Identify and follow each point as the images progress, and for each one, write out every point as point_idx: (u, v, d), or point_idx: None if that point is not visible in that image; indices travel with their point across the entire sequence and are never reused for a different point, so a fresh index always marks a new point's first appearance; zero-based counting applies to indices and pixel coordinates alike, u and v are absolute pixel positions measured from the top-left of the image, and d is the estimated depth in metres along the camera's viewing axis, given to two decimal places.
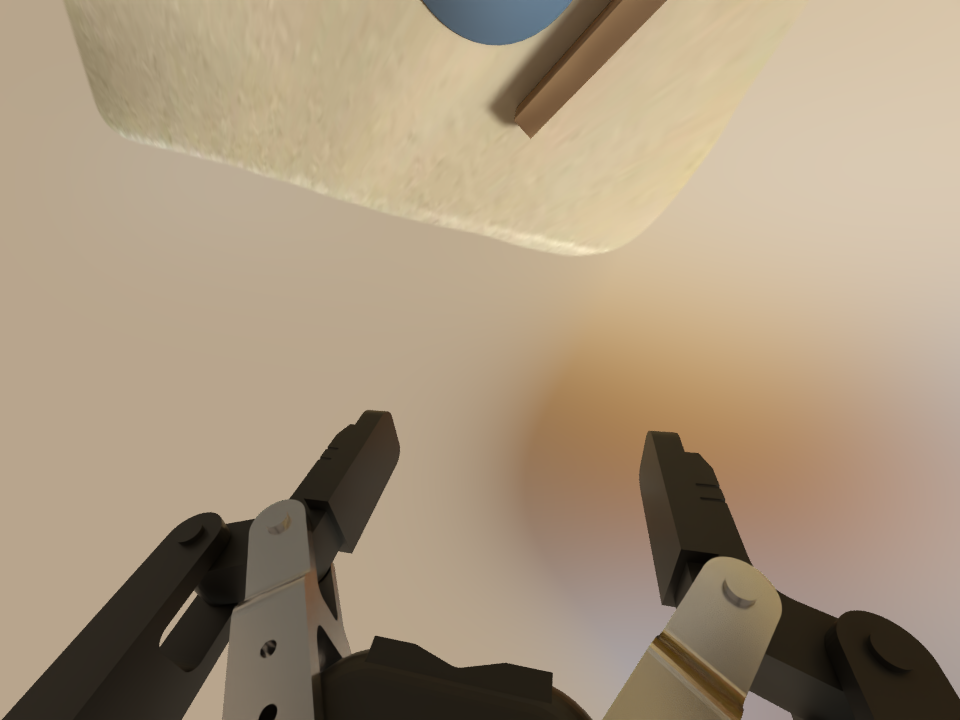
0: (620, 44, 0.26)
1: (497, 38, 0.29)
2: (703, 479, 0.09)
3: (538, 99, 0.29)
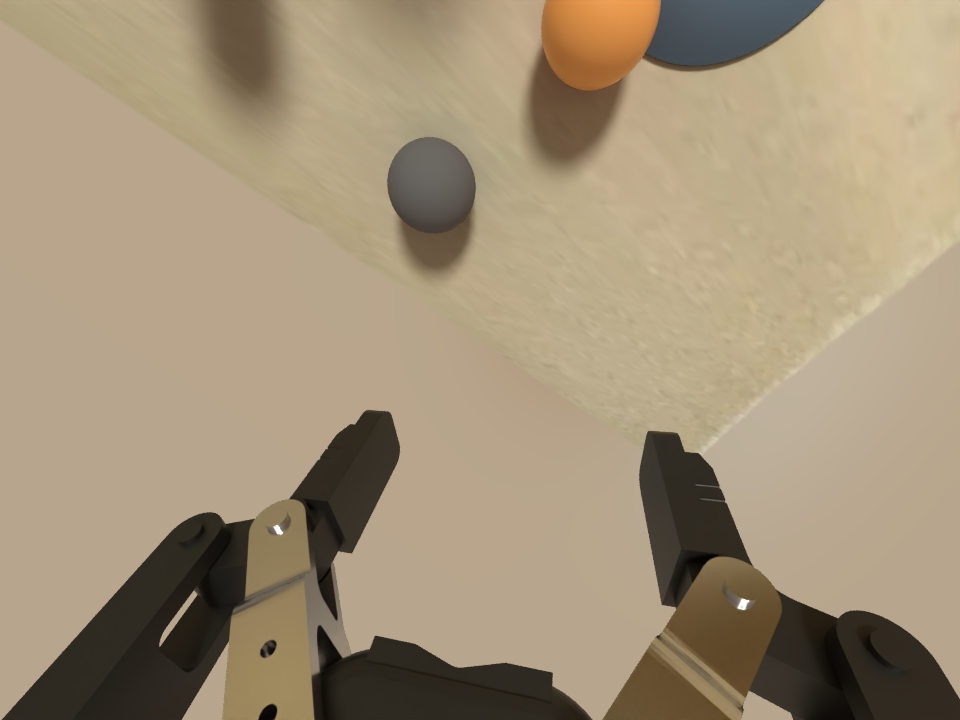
0: None
1: None
2: (703, 479, 0.09)
3: None
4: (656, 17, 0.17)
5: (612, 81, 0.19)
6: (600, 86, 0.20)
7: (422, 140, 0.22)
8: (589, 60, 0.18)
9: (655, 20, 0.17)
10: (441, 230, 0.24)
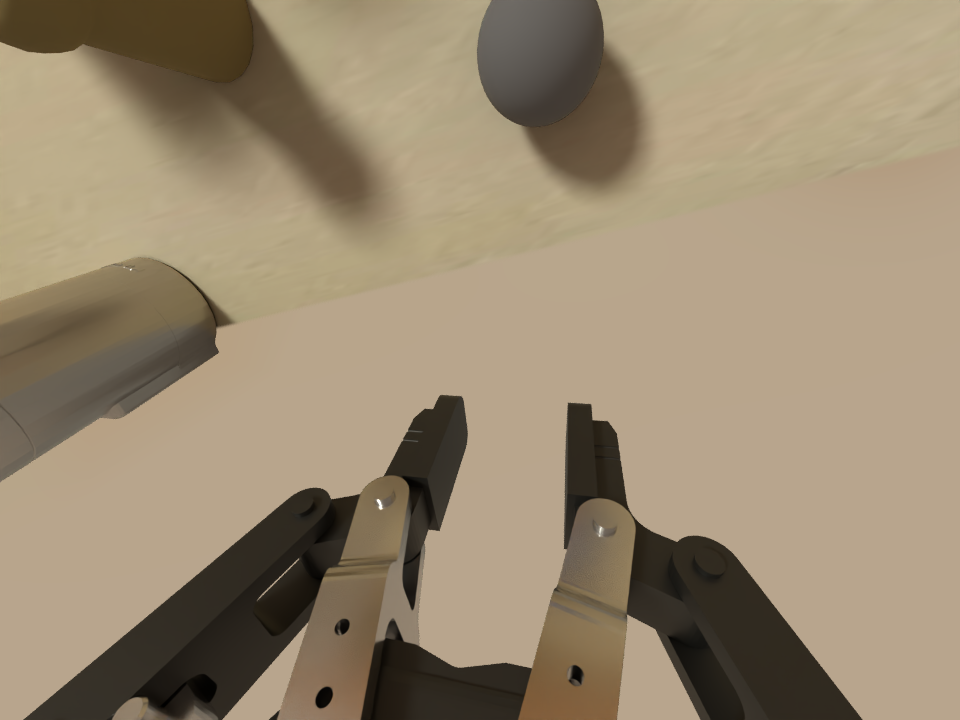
0: None
1: None
2: (606, 442, 0.11)
3: None
4: None
5: None
6: None
7: (486, 11, 0.16)
8: None
9: None
10: (588, 70, 0.16)
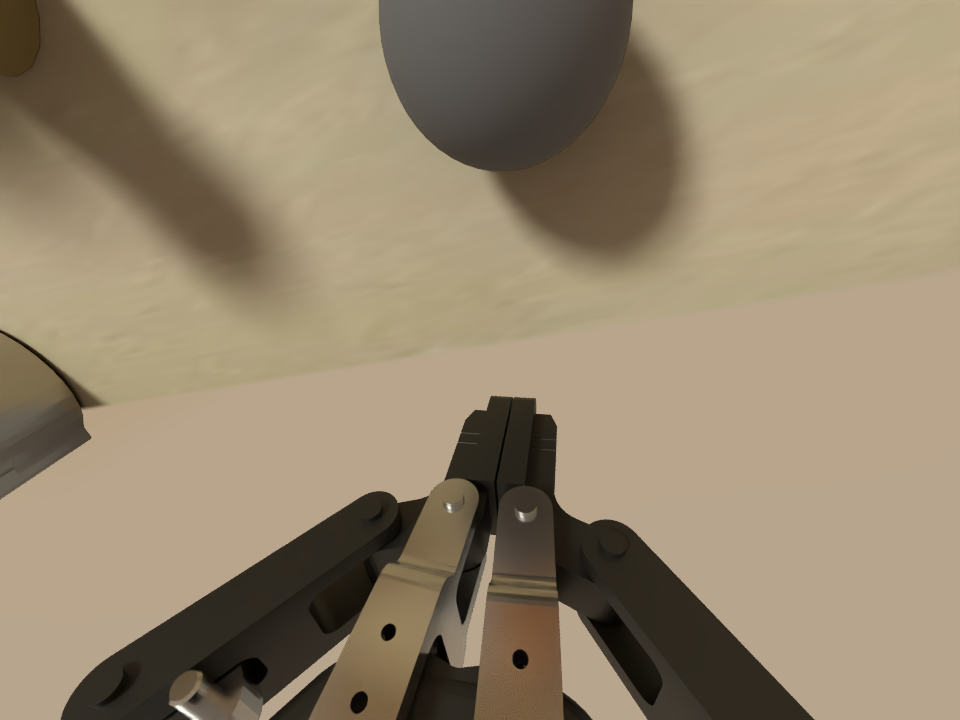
0: None
1: None
2: (545, 434, 0.11)
3: None
4: None
5: None
6: None
7: None
8: None
9: None
10: (601, 68, 0.08)
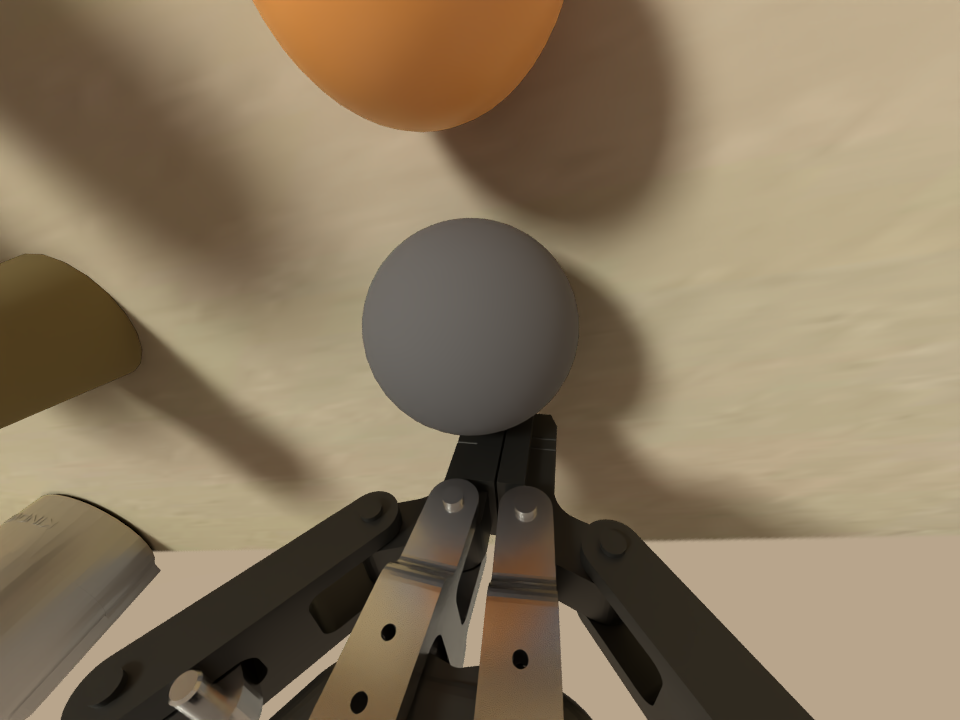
0: None
1: None
2: (545, 434, 0.11)
3: None
4: None
5: None
6: (545, 3, 0.06)
7: None
8: (435, 2, 0.05)
9: None
10: (554, 303, 0.08)
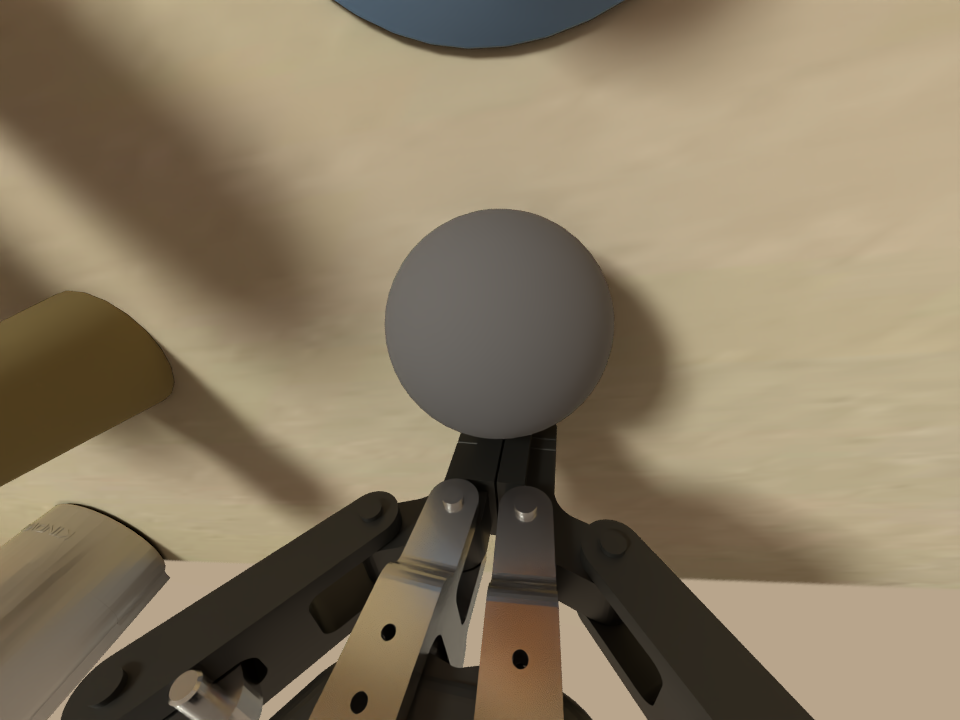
0: None
1: None
2: (545, 434, 0.11)
3: None
4: None
5: None
6: None
7: None
8: None
9: None
10: (593, 259, 0.08)
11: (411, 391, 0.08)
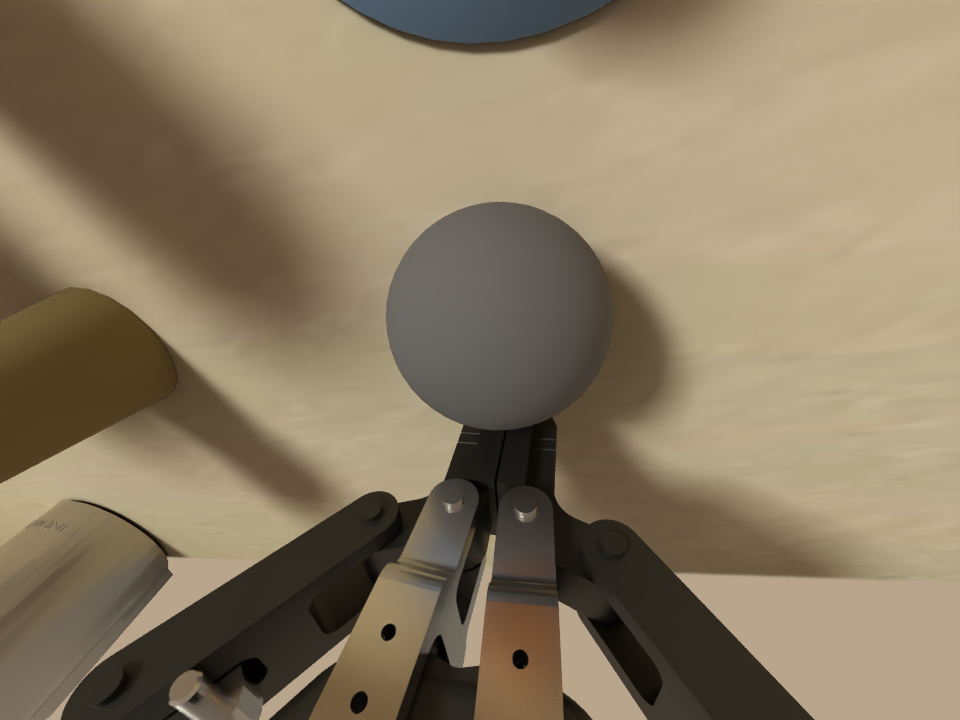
0: None
1: None
2: (545, 434, 0.11)
3: None
4: None
5: None
6: None
7: None
8: None
9: None
10: (592, 251, 0.08)
11: (413, 382, 0.08)
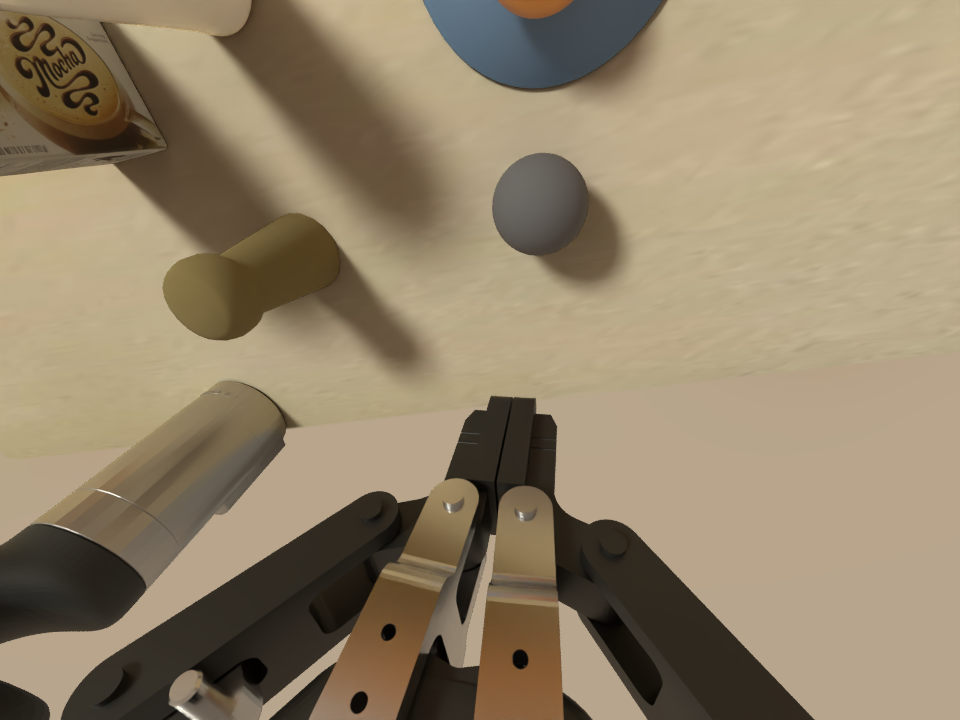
0: None
1: None
2: (545, 434, 0.11)
3: None
4: None
5: None
6: None
7: None
8: None
9: None
10: (579, 172, 0.21)
11: (507, 224, 0.21)
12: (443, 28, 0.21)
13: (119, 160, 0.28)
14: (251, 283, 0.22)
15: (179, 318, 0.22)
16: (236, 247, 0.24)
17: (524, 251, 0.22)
